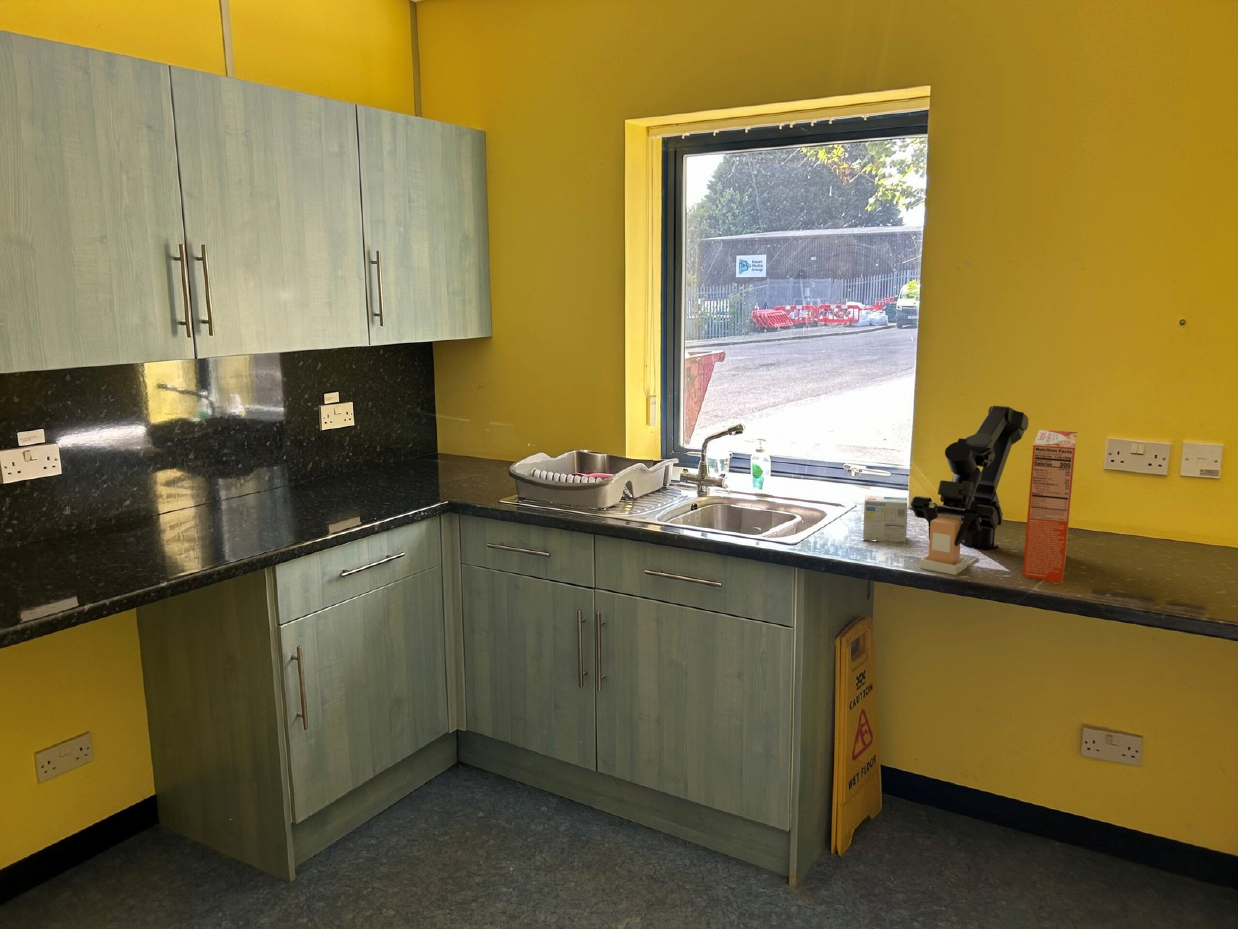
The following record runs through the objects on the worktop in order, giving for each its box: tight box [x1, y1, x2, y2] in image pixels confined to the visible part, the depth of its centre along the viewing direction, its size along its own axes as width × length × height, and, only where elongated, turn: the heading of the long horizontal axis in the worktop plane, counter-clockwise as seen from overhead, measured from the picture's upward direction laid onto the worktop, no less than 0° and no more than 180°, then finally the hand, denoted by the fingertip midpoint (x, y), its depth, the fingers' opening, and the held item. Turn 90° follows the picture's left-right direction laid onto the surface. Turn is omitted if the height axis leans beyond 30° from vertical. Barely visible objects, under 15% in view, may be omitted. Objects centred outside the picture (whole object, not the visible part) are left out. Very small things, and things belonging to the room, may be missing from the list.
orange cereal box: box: [1022, 429, 1078, 583], centre depth 211 cm, size 23×8×30 cm, turn 153°
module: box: [928, 516, 963, 565], centre depth 211 cm, size 5×6×11 cm
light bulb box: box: [862, 495, 908, 543], centre depth 236 cm, size 11×7×11 cm, turn 74°
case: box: [919, 553, 968, 576], centre depth 212 cm, size 7×8×2 cm
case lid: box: [960, 553, 980, 567], centre depth 218 cm, size 8×8×1 cm
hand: (942, 542), depth 210 cm, fingers closed on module, 5 cm apart
